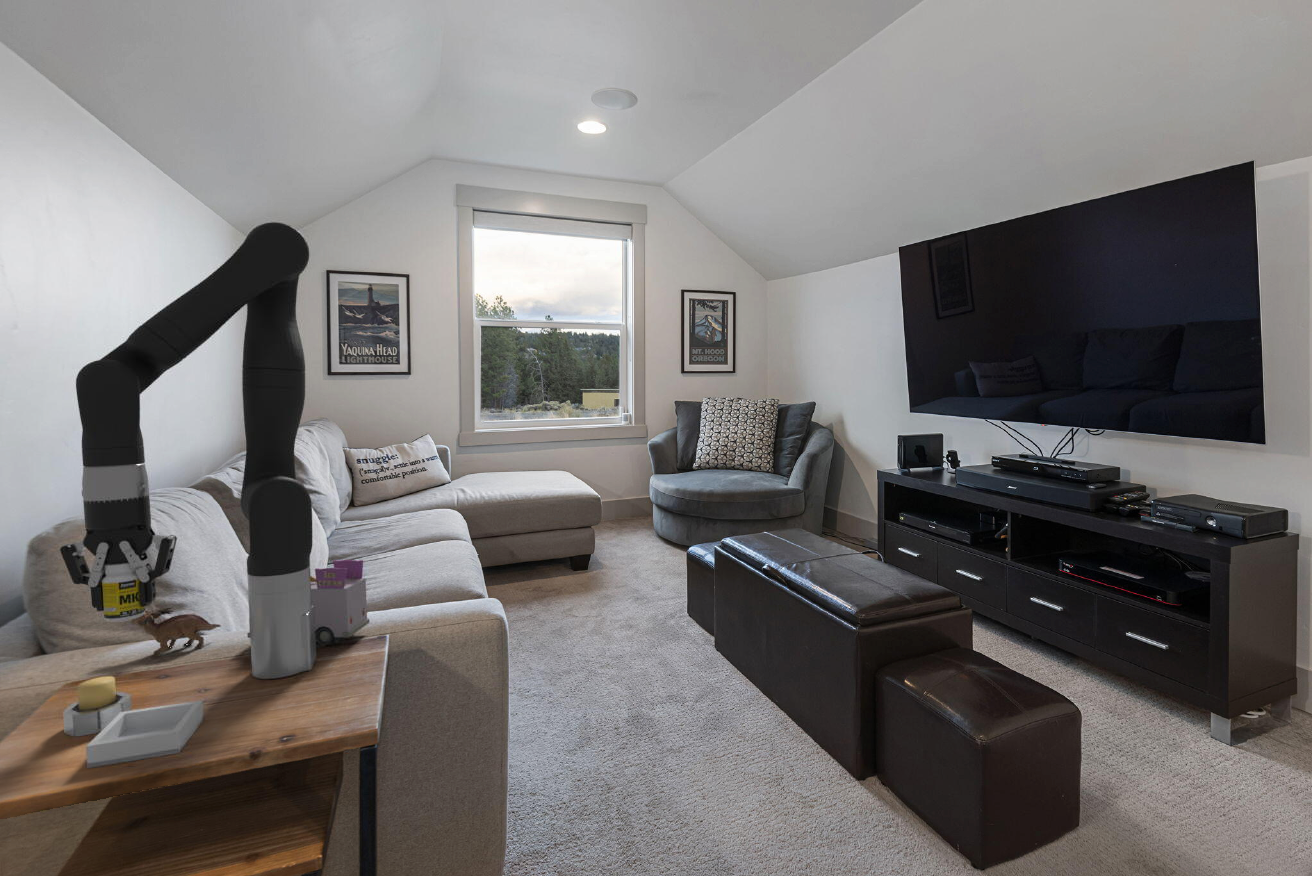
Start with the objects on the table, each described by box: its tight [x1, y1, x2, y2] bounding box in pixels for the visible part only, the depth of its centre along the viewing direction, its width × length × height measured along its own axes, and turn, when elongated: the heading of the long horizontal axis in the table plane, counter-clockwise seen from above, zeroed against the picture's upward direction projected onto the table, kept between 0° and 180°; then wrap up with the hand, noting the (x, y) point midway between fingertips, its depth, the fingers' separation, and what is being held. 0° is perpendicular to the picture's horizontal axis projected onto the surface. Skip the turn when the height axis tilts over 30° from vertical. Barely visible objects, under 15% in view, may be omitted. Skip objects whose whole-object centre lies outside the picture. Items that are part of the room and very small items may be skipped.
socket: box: [62, 691, 133, 738], centre depth 90 cm, size 7×7×3 cm
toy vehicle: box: [246, 559, 370, 646], centre depth 122 cm, size 9×20×15 cm, turn 88°
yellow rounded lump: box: [77, 675, 117, 710], centre depth 90 cm, size 4×4×3 cm
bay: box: [85, 700, 204, 769], centre depth 85 cm, size 10×10×3 cm
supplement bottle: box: [102, 562, 146, 623], centre depth 95 cm, size 5×5×8 cm
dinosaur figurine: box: [130, 607, 222, 660], centre depth 119 cm, size 14×6×9 cm, turn 127°
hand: (124, 606), depth 95 cm, fingers closed on supplement bottle, 4 cm apart
